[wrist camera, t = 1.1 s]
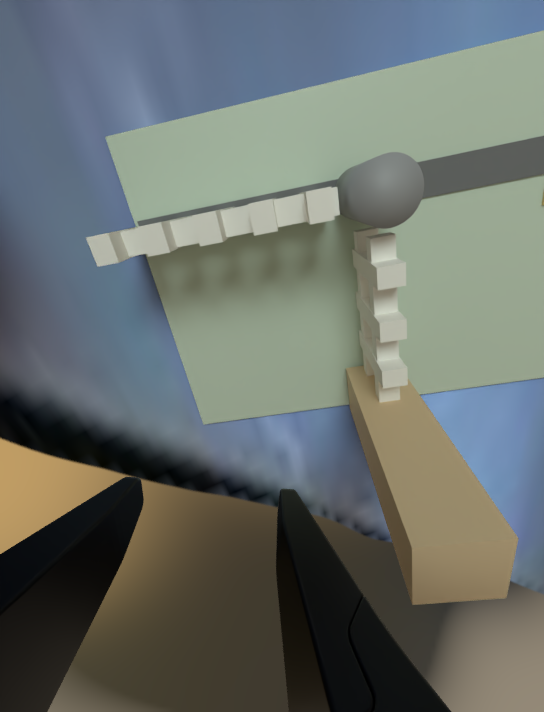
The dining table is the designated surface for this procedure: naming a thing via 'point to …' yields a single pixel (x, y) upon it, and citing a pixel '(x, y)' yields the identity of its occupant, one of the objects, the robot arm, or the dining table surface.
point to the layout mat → (336, 237)
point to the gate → (418, 454)
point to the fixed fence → (282, 211)
